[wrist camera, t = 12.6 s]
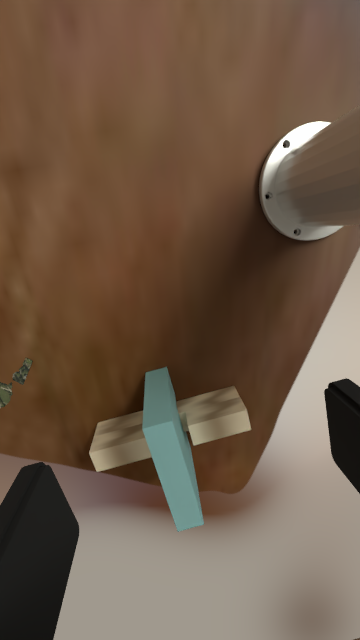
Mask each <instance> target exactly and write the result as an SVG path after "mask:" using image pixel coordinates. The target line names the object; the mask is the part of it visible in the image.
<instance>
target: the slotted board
mask: <svg viewBox="0 0 360 640" xmlns="http://www.w3.org/2000/svg"><path fill="white" fill-rule="evenodd" d="M176 406H177V410H178V413H179V416H180V420H181V423H182V427H183V430H184V432H186V431H190V435H191V438H192V442H193V445H198V444H201V443H205V442H209V441H212V440H216V439H220V438H223V437H227V436H230V435H234V434H238V433H241V432H245V431H249V430H251V426H250V422H249V417H248V412H247V409H246V407H245V405H244V403H243V402H242V400H241V398H240V396H239V394H238V392H237V390H236V388H235V387H234V386H231V387H227V388H223V389H220V390H216V391H212V392H209V393H205V394H201V395H198V396H194V397H190V398H187V399H183V400H179V401H176ZM142 425H143V411H139V412H135V413H132V414H128V415H124V416H121V417H117V418H113V419H110V420H106V421H102V422H99V423H98V424H97V428H96V431H95V434H94V438H93V441H92V444H91V448H90V451H89V455H90V457H91V459H92V462H93V464H94V466H95V469H96V471H97V472H99V471H103V470H107V469H110V468H114V467H118V466H121V465H125V464H128V463H132V462H136V461H139V460H143V459H147V458H150V457H152V456H151V453H150V450H149V447H148V444H147V441H146V438H145V435H144V433H143V430H142Z"/></svg>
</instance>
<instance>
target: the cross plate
mask: <svg viewBox="0 0 360 640" xmlns="http://www.w3.org/2000/svg"><path fill="white" fill-rule="evenodd" d="M142 430H143V433H144V435H145V438H146V441H147V444H148V447H149V450H150V453H151V456H152V458H153V461H154V464H155V467H156V470H157V473H158V476H159V479H160V482H161V484H162V487H163V490H164V493H165V496H166V499H167V502H168V505H169V508H170V510H171V513H172V516H173V519H174V522H175V525H176V528H177V531H178V532H179V531H182V530H186V529H189V528H193V527H196V526H200V525H203V524H204V522H203V516H202V510H201V505H200V499H199V493H198V487H197V481H196V476H195V470H194V464H193V458H192V453H191V447H190V444H189V441H188V437H187V434H186V432H184V430H183V427H182V423H181V420H180V416H179V413H178V410H177V406H176V398H175V393H174V389H173V386H172V383H171V379H170V376H169V372H168V369H167V367H164V368H161V369H157V370H153V371H150V372H146V374H145V391H144V408H143V425H142Z"/></svg>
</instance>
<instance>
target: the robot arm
mask: <svg viewBox="0 0 360 640" xmlns="http://www.w3.org/2000/svg"><path fill="white" fill-rule="evenodd" d="M282 145H284V146H285V148H283V146H282ZM265 195H268V199H266V198H265ZM259 196H260V203H261V206H262V210H263V212H264V214H265V216H266V218H267V220H268V221H269V223H270V224H271V225H272V226H273V227H274V228H275V229H276V230H277V231H278V232H280V233H281V234H283V235H285V236H287V237H289V238H292V239H296V240H305V241H307V240H317V239H321V238H325V237H327V236H329V235H331V234H333V233H335V232H336V231H338V230H339V229H340V228H342V227H343V226H345V225H360V105H359V106H357V107H356V108H354V109H352V110H351V111H349V112H348V113H346V114H344V115H343V116H341V117H340V118H338V119H337V120H335V121H333V122H332V123H331V122H323V121H317V122H310V123H306V124H304V125H301V126H298V127H297V128H295V129H293V130H292V131H290V132H289V133H287V134H286V135H285V136H284V137H282V138H281V139H280V140H279V141H278V142H277V143H276V145H275V146H274V147H273V148H272V150H271V151H270V153H269V154H268V156H267V158H266V160H265V163H264V165H263V167H262V171H261V175H260V180H259ZM294 230H295V231H296V232H295V234H294ZM325 401H326V410H327V419H328V428H329V436H330V445H331V453H332V457H333V459H334V461H335V463H336V464H337V466H338V467H339V468H340V470H341V471H342V472H343V473H344V475H345V476H346V477H347V478H348V480H349V481H350V482H351V483H352V485H353V486H354V487H355V488H356V489H357V491H358V492H359V493H360V387H359V386H358V385H356V384H355V383H353V382H352V381H351V380H349V379H342V380H339V381H335V382H332V383H329V385H328V389H325ZM78 537H79V525H78V522H77V520H76V518H75V516H74V514H73V512H72V510H71V508H70V506H69V504H68V502H67V500H66V497H65V495H64V493H63V491H62V489H61V487H60V485H59V483H58V481H57V479H56V477H55V475H54V473H53V471H52V469H51V467H50V466H49V465H45V464H44V463H43V462H39V463H35V464H32V465H28V466H25V467H23V468H22V469H21V470H20V472H19V473H18V475H17V477H16V479H15V480H14V482H13V484H12V486H11V487H10V489H9V491H8V493H7V494H6V496H5V498H4V500H3V502H2V503H1V505H0V640H53V638H54V634H55V629H56V625H57V621H58V618H59V613H60V610H61V606H62V602H63V598H64V593H65V590H66V586H67V581H68V577H69V573H70V569H71V565H72V561H73V557H74V553H75V549H76V545H77V541H78ZM354 640H360V638H358V639H354Z"/></svg>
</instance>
